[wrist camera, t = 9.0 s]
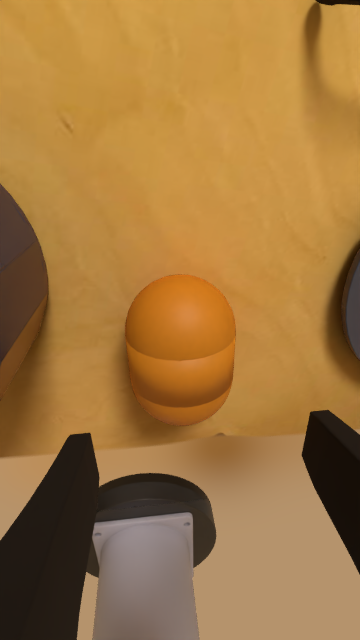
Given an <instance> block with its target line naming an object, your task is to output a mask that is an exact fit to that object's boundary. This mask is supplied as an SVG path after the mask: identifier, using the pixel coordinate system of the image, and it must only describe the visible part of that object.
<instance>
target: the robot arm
mask: <svg viewBox="0 0 360 640" xmlns="http://www.w3.org/2000/svg"><path fill="white" fill-rule="evenodd" d="M302 457H303V460H304V463H305V465H306V468H307V471H308V473H309V476H310V478H311V481H312V483H313V486H314V488H315V490H316V491H317V494H318V495H319V497H320V499H321V501H322V503H323V505H324V507H325V509H326V511H327V513H328V514H329V516H330V518H331V520H332V522H333V524H334V526H335V528H336V530H337V531H338V533H339V535H340V537H341V539H342V541H343V543H344V544H345V547H346V548H347V550H348V552H349V554H350V556H351V558H352V560H353V562H354V564H355V566H356V568H357V570H358V572H359V574H360V435H359V434H358V433H357V432H356V431H354V430H353V429H352V428H351V427H349V426H348V425H347V424H346V423H344V422H343V421H342V420H340V419H339V418H338V417H337V416H335V415H334V414H333V413H331V412H330V411H329V410H323V411H313V412H310V416H309V421H308V426H307V431H306V436H305V441H304V446H303V451H302ZM98 489H99V472H98V468H97V463H96V458H95V453H94V448H93V444H92V439H91V434H90V433H83V434H73V435H70V436H69V437H68V438H67V440H66V442H65V443H64V445H63V447H62V449H61V450H60V452H59V454H58V456H57V458H56V459H55V461H54V462H53V464H52V466H51V467H50V469H49V471H48V472H47V474H46V475H45V477H44V479H43V480H42V482H41V483H40V485H39V486H38V488H37V489H36V491H35V493H34V494H33V495H32V497H31V499H30V500H29V502H28V503H27V505H26V506H25V507H24V509H23V510H22V512H21V513H20V514H19V516H18V517H17V519H16V520H15V521H14V523H13V524H12V525H11V527H10V528H9V530H8V531H7V533H6V534H5V535H4V537H3V538H2V539H1V540H0V640H77V631H78V621H79V612H80V605H81V598H82V591H83V586H84V581H85V575H86V569H87V564H88V558H89V553H90V547H91V542H92V539H93V543H94V547H95V551H96V555H97V559H98V563H99V567H100V570H99V580H98V590H97V599H96V610H95V619H94V629H93V639H92V640H199V632H198V623H197V615H196V606H195V597H194V589H193V580H192V578H193V517H192V514H191V513H189V512H184V513H175V514H166V515H157V516H148V517H140V518H131V519H122V520H113V521H105V522H96V523H95V519H96V513H97V503H98Z"/></svg>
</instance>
